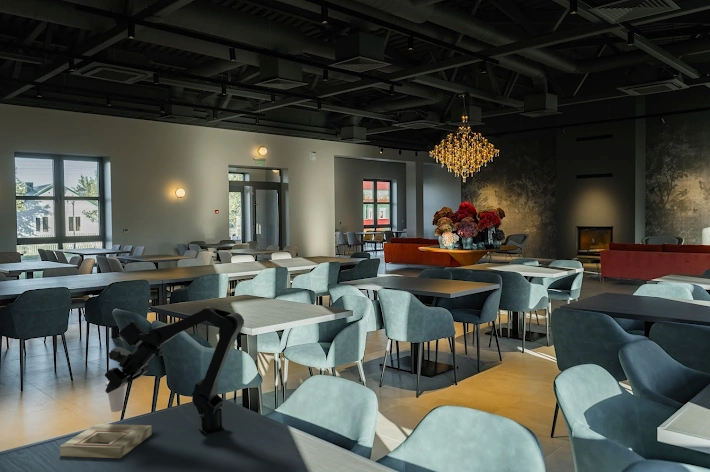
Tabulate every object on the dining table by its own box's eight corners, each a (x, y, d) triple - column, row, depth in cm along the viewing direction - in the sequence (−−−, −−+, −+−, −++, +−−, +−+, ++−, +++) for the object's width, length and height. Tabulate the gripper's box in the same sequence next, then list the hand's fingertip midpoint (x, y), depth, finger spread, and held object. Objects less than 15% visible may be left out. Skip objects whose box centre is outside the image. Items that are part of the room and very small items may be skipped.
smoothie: (120, 413, 193) (117, 371, 192) (102, 412, 194) (100, 370, 194) (131, 407, 199) (129, 366, 199) (114, 406, 200) (112, 365, 200)
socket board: (96, 432, 192) (96, 423, 192) (151, 434, 189) (151, 424, 189) (60, 456, 173) (59, 445, 173) (120, 458, 170) (120, 447, 170)
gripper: (138, 333, 204) (110, 365, 206) (108, 345, 186) (78, 380, 188) (161, 356, 204) (132, 387, 205) (133, 370, 185) (102, 404, 187)
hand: (112, 389), depth 196 cm, fingers closed on smoothie, 6 cm apart
